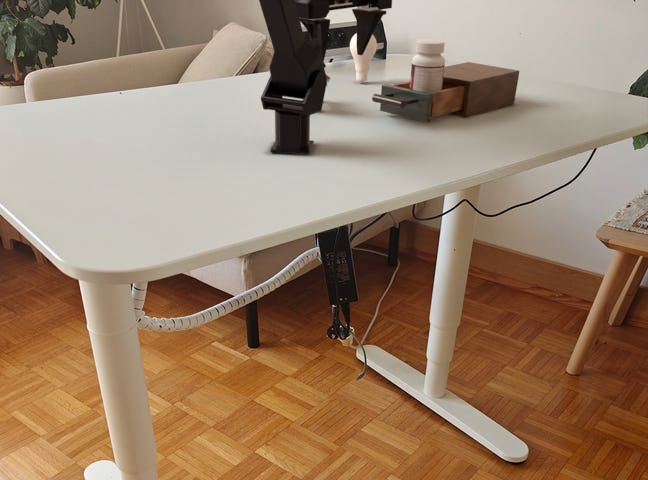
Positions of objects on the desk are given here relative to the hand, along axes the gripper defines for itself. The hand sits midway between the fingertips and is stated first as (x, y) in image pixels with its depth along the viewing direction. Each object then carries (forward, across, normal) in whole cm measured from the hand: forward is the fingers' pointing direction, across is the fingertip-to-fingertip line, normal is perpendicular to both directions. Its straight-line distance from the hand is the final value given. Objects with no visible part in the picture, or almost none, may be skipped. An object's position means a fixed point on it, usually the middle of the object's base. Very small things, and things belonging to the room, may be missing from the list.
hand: (340, 58), depth 119 cm
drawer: (+11, -18, +4) cm, 21 cm away
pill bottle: (+10, -19, +4) cm, 22 cm away
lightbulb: (+13, -31, -26) cm, 43 cm away
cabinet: (+13, -32, +3) cm, 35 cm away
